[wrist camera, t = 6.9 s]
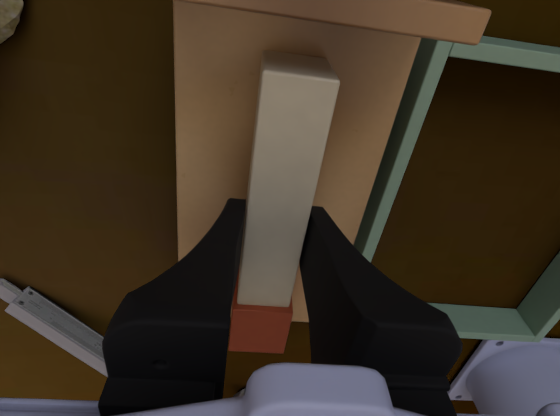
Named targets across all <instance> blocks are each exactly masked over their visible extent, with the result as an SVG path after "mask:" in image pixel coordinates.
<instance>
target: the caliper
mask: <svg viewBox="0 0 560 416" xmlns="http://www.w3.org/2000/svg"><path fill="white" fill-rule="evenodd" d="M0 298H1V299H3V300H4V301H6V302H7V303H9V304H10V305H9V306H8V307H7V308H6V310H5V311H6V312H7V313H9V314H10V315H12V316H13V317H15V318H16V319H18V320H20V321H21V322H23V323H24V324H26V325H27V326H29V327H30V328H32V329H34V330H35V331H37V332H38V333H40V334H41V335H43V336H44V337H46V338H47V339H49V340H51V341H52V342H54V343H55V344H57V345H58V346H60V347H61V348H63V349H64V350H66V351H68V352H69V353H71V354H72V355H74V356H75V357H77V358H78V359H80V360H82V361H83V362H85V363H86V364H88V365H89V366H91V367H93V368H94V369H96V370H97V371H99V372H100V373H102V374H104V375H105V376H107V377H108V375H107V370H106V365H105V361H104V356H103V351H102V341H103V338H104V336H102V335H101V334H100V333H98V332H97V331H95V330H94V329H92V328H91V327H89V326H88V325H86V324H85V323H83V322H82V321H80V320H79V319H78V318H76V317H75V316H73V315H72V314H70V313H69V312H67V311H66V310H64V309H63V308H61V307H60V306H59V305H57V304H56V303H54V302H53V301H51V300H50V299H48V298H47V297H45V296H44V295H42V294H41V293H39V292H38V291H37V290H35V289H34V288H32V287H30V286H28V287H27V288H26V289H24V290H23V291H22V290H20V289H19V288H17V287H16V286H15V285H13V284H12V283H10V282H9V281H7V280H5V279H2V278H0ZM245 392H246V388H245V389H243V390H241V391H240V392H238V393H236V394H235V395H234V396H233V397H238V396H244V394H245Z"/></svg>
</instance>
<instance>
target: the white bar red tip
mask: <svg viewBox="0 0 560 416" xmlns="http://www.w3.org/2000/svg"><path fill="white" fill-rule="evenodd" d="M339 86H340V80H339V79H338V77H337V75H336V73H335V72H334V70H333V68H332V67H331V65H330V63H329V61H328V60H327V59H326V58H319V57H312V56H305V55H298V54H291V53H284V52H276V51H269V50H263V52H262V58H261V68H260V77H259V86H258V96H257V105H256V115H255V124H254V133H253V143H252V152H251V162H250V171H249V181H248V190H247V199H246V210H245V220H244V229H243V239H242V248H241V257H240V265H239V270H238V275H237V281H236V286H235V291H234V296H233V303H232V315H231V326H230V338H229V349H228V350H229V351H244V352H264V353H284V349H285V345H286V341H287V337H288V333H289V328H290V324H291V320H292V316H293V305H292V292H293V287H294V283H295V279H296V274H297V270H298V265H299V261H300V257H301V252H302V248H303V243H304V239H305V235H306V230H307V226H308V222H309V217H310V213H311V208H312V204H313V200H314V195H315V191H316V186H317V182H318V178H319V173H320V169H321V165H322V160H323V156H324V151H325V147H326V143H327V138H328V134H329V129H330V125H331V121H332V116H333V112H334V108H335V103H336V99H337V94H338V90H339Z"/></svg>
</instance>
